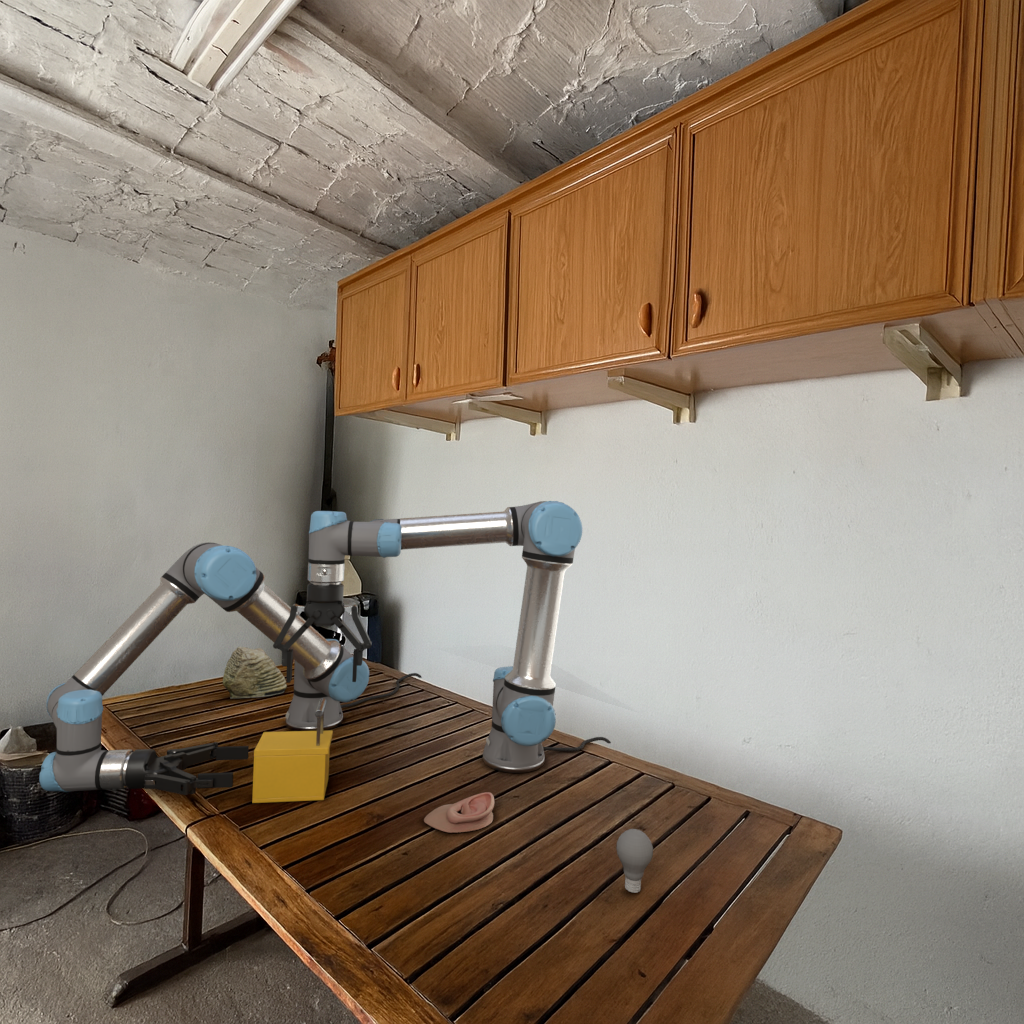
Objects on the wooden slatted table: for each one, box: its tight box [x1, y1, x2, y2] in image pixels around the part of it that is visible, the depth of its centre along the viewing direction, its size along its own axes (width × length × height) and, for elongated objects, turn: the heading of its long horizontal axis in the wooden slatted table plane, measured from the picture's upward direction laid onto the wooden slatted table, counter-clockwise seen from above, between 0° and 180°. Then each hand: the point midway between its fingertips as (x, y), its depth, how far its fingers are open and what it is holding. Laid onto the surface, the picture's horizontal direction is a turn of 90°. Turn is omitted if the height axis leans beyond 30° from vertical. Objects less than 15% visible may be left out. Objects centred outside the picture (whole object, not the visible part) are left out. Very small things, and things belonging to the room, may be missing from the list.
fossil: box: [222, 646, 288, 699], centre depth 198 cm, size 9×18×15 cm, turn 132°
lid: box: [253, 698, 334, 757], centre depth 136 cm, size 15×10×9 cm
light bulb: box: [615, 828, 654, 894], centre depth 106 cm, size 6×6×10 cm
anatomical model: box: [423, 791, 495, 834], centre depth 127 cm, size 13×4×12 cm
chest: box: [251, 747, 331, 804], centre depth 136 cm, size 14×10×10 cm
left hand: (241, 765), depth 134 cm, fingers open, 13 cm apart
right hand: (322, 680), depth 137 cm, fingers open, 13 cm apart
